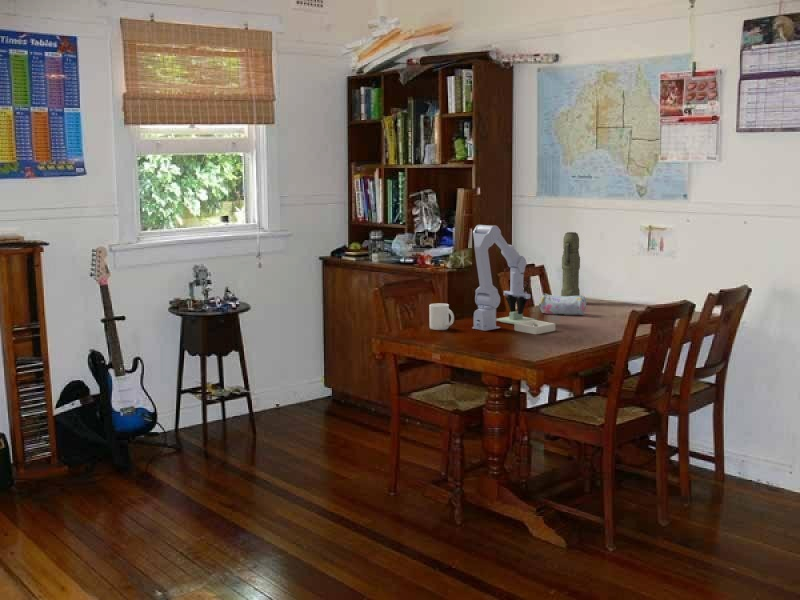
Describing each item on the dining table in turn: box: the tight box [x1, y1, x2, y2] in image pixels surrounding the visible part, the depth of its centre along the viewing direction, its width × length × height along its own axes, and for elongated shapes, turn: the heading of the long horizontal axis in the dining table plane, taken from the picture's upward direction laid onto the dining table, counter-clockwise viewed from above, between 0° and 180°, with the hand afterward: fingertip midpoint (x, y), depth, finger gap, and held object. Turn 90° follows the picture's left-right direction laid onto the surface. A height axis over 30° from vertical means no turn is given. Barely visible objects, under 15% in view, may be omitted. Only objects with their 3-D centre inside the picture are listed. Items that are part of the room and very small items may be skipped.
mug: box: [428, 302, 455, 331], centre depth 397 cm, size 12×8×10 cm
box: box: [513, 319, 556, 335], centre depth 391 cm, size 12×12×3 cm
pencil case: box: [538, 293, 587, 316], centre depth 429 cm, size 21×9×10 cm, turn 63°
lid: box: [496, 310, 537, 325], centre depth 411 cm, size 12×12×5 cm
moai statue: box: [560, 231, 581, 296], centre depth 457 cm, size 9×12×35 cm
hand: (516, 313), depth 411 cm, fingers open, 4 cm apart
